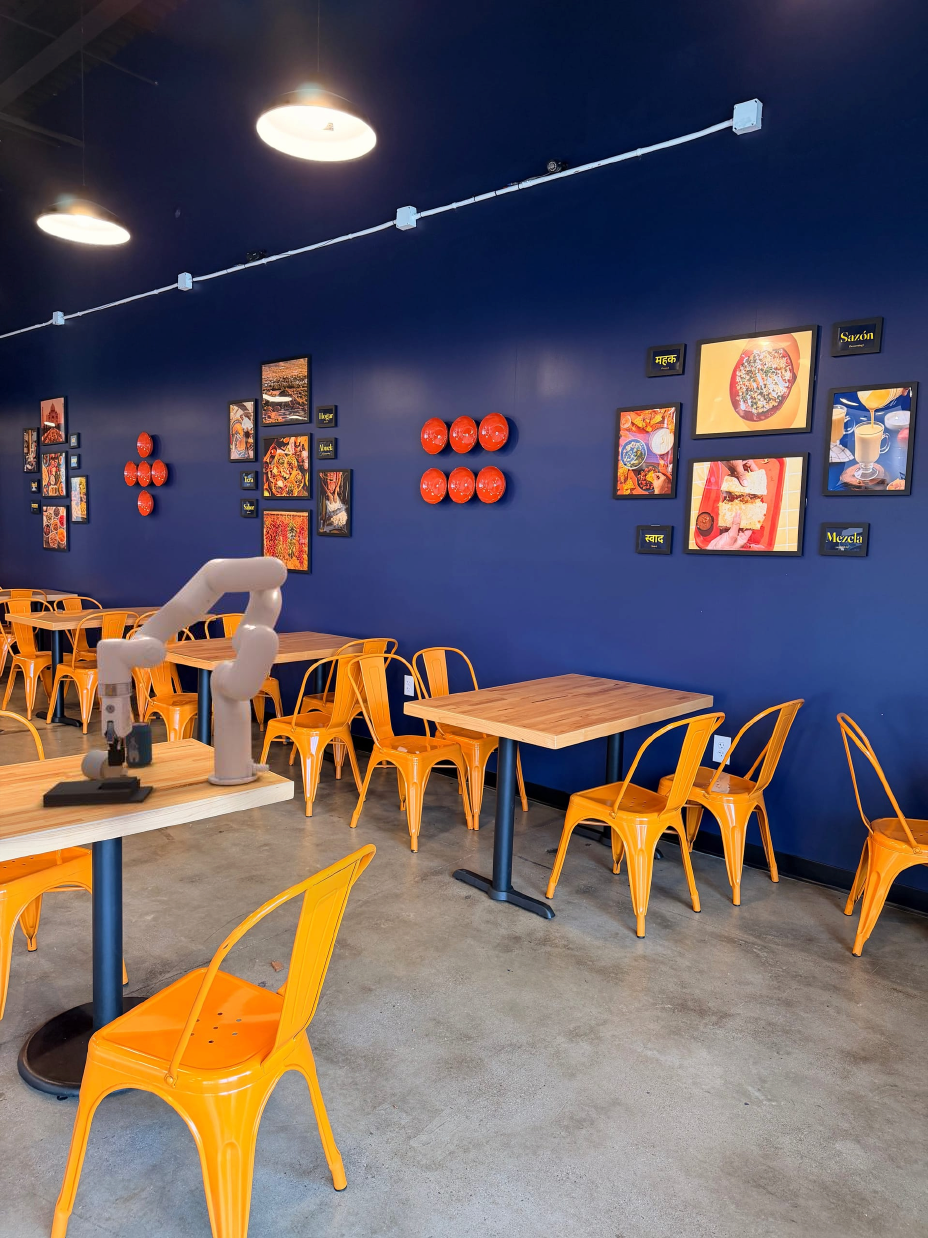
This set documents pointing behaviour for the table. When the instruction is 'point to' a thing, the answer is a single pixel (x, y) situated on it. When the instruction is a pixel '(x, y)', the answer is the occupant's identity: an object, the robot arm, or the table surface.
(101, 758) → the ceramic mug
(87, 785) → the pad base
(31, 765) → the table surface
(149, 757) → the soda can
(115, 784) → the loose pad
